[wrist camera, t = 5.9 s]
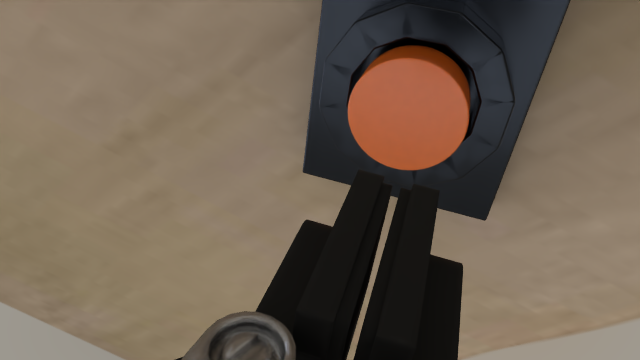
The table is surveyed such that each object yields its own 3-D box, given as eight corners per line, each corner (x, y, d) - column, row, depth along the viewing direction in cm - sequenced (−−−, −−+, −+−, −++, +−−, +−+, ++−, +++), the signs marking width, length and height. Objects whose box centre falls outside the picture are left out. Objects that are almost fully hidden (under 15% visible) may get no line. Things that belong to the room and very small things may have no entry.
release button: (367, 33, 18) (357, 46, 17) (485, 57, 17) (485, 72, 16) (349, 136, 21) (339, 155, 19) (453, 161, 20) (450, 183, 18)
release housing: (342, -78, 19) (316, -73, 17) (576, -40, 18) (593, -27, 15) (312, 157, 25) (289, 191, 22) (485, 202, 24) (485, 244, 21)
